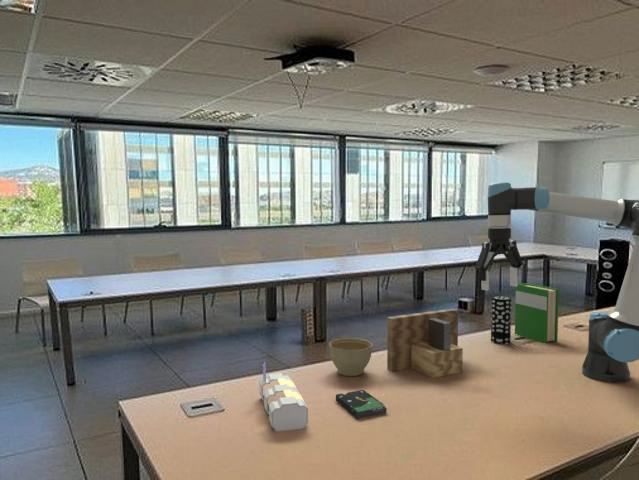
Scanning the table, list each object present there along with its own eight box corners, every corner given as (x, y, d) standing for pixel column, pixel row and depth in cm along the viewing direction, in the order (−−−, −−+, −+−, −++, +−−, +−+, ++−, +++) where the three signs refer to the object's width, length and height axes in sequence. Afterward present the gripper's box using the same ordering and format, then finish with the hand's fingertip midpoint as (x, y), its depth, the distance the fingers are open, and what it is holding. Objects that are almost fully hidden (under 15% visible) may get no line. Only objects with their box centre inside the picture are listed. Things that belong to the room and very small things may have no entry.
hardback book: (557, 341, 221) (559, 289, 220) (545, 343, 218) (547, 290, 217) (526, 332, 237) (527, 283, 236) (514, 334, 234) (515, 284, 233)
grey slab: (434, 358, 189) (434, 317, 188) (450, 365, 181) (450, 323, 180) (427, 360, 188) (428, 318, 186) (443, 367, 180) (444, 323, 178)
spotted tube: (486, 340, 225) (487, 296, 223) (502, 338, 227) (503, 295, 226) (498, 345, 217) (499, 300, 215) (514, 343, 219) (515, 299, 218)
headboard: (452, 356, 201) (453, 308, 200) (480, 367, 187) (481, 316, 186) (387, 369, 187) (387, 317, 185) (412, 382, 173) (412, 326, 171)
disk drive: (334, 403, 157) (357, 421, 144) (334, 394, 157) (357, 411, 144) (363, 397, 161) (387, 414, 148) (363, 389, 161) (387, 405, 148)
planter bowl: (380, 376, 179) (380, 347, 178) (339, 382, 173) (339, 352, 172) (360, 363, 194) (360, 335, 193) (322, 368, 188) (322, 340, 187)
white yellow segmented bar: (259, 398, 160) (259, 359, 159) (290, 395, 163) (290, 356, 162) (271, 433, 136) (271, 387, 135) (308, 428, 139) (307, 383, 138)
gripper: (516, 225, 180) (516, 283, 181) (464, 228, 169) (464, 290, 170) (533, 226, 173) (533, 285, 174) (480, 229, 162) (480, 293, 163)
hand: (499, 288), depth 172 cm, fingers open, 13 cm apart
